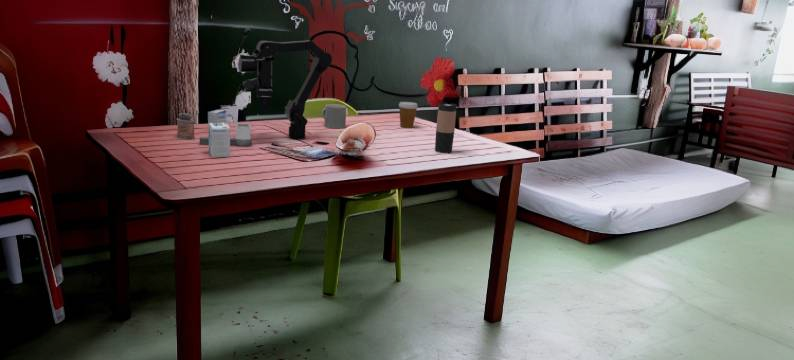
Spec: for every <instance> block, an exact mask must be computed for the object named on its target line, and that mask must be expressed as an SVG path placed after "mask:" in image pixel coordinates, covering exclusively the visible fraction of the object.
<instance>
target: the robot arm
mask: <svg viewBox="0 0 794 360" xmlns="http://www.w3.org/2000/svg"><path fill="white" fill-rule="evenodd" d="M255 47H256V48H255V50H254V51H253V52H252V53H251V55H250V54H249V55H248V54H247V55H245V54H239V58H238V62H237V69H238V72H239V73H255V72H256V71H257V74H256V77H255V78H252V79H250V78H248V79H246V80H244V81H243V83H242V84H243V86H244V89H245V91H249V90H250V89H253V88H256V93H255V94H256V98H258V99H259V100H260V105H261V108H262V109H261V111H262V113H264V114H265V113H266V112H267V110H268V108H269V106H270V104H271V103H270V102H271V101H272V98H273V62H275V63H277V62H278V59H277V58H275V55H277V54H279V53H285V52H286V53H288V52H299V51H307V52H308V54H309V55H310V56H312V57H313V59H312V63H311V69H310V71H309V73H308V75H307V77H306V79H305V80H304V82H303V84H302V85H301V87H300V90H299V91H298V93H297V94H296V97H295V98H294V100H291V99H289V100H288V102H287V104H286V106H284V109H285V110H284V114H285V117H286V118H288V121H289V122H290V125H288V137H289V139H293V140H294V139H295V140H297V139H298V140H306V126H307V125H308V119H307V118H306V117H305V116H304V113H305V108H306V103H307V101H308V99H309V98H310V95H311V94H312V92H313V90H314V87H315V86H316V84H317V82H318V81H319V79H320V77H321V75H322V74H323V73H324V72H325V71H326V70H328V68H329V67H330V65H331V64H332V63H333V56H332V55H331V54H330V53H329V52H326V51H324V50H323V49H322V48H321V47H320V46H318V45H317V44H316V43H315V42H314V41H313V40H309V39H305V40H297V41H296V40H295V41H282V42H281V41H280V42H278V41H277V42H276V41H271V40H270V41H269V40H260V41H258V43H257V45H256V46H255Z"/></svg>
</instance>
